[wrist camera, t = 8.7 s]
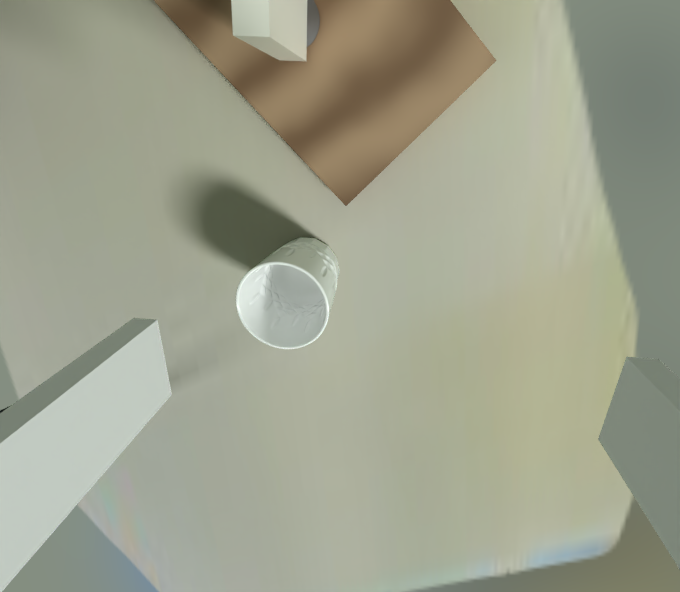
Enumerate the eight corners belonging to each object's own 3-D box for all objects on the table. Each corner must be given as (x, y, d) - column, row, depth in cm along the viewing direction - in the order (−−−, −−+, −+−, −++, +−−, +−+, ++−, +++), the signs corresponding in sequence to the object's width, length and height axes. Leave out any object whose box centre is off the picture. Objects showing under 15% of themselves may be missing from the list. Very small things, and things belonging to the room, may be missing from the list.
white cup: (263, 237, 41) (223, 268, 32) (337, 225, 39) (317, 255, 30) (281, 306, 44) (249, 353, 35) (351, 297, 42) (337, 345, 33)
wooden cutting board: (136, -28, 33) (114, -41, 31) (255, -239, 27) (240, -275, 25) (349, 201, 38) (345, 206, 36) (489, 65, 32) (497, 60, 30)
